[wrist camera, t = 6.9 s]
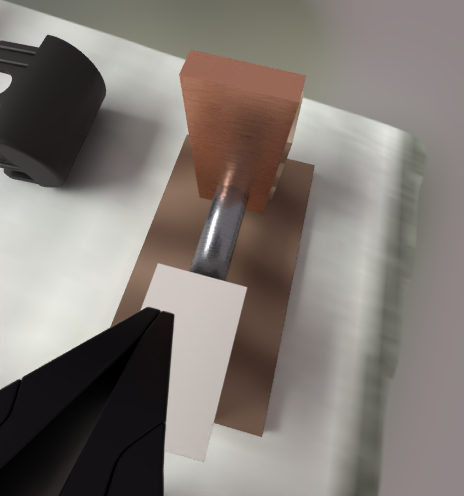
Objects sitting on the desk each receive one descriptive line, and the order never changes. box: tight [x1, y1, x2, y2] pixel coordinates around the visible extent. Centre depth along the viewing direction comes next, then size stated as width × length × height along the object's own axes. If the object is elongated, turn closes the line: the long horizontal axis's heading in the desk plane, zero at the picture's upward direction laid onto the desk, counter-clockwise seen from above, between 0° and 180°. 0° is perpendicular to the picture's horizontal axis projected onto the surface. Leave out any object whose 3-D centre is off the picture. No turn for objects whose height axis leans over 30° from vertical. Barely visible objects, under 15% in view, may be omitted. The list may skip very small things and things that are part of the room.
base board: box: [111, 135, 315, 437], centre depth 21 cm, size 22×12×1 cm, turn 165°
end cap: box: [0, 35, 106, 187], centre depth 22 cm, size 10×7×7 cm
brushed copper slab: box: [179, 50, 306, 281], centre depth 15 cm, size 13×5×10 cm, turn 165°
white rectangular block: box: [140, 263, 247, 462], centre depth 16 cm, size 8×5×6 cm, turn 165°
